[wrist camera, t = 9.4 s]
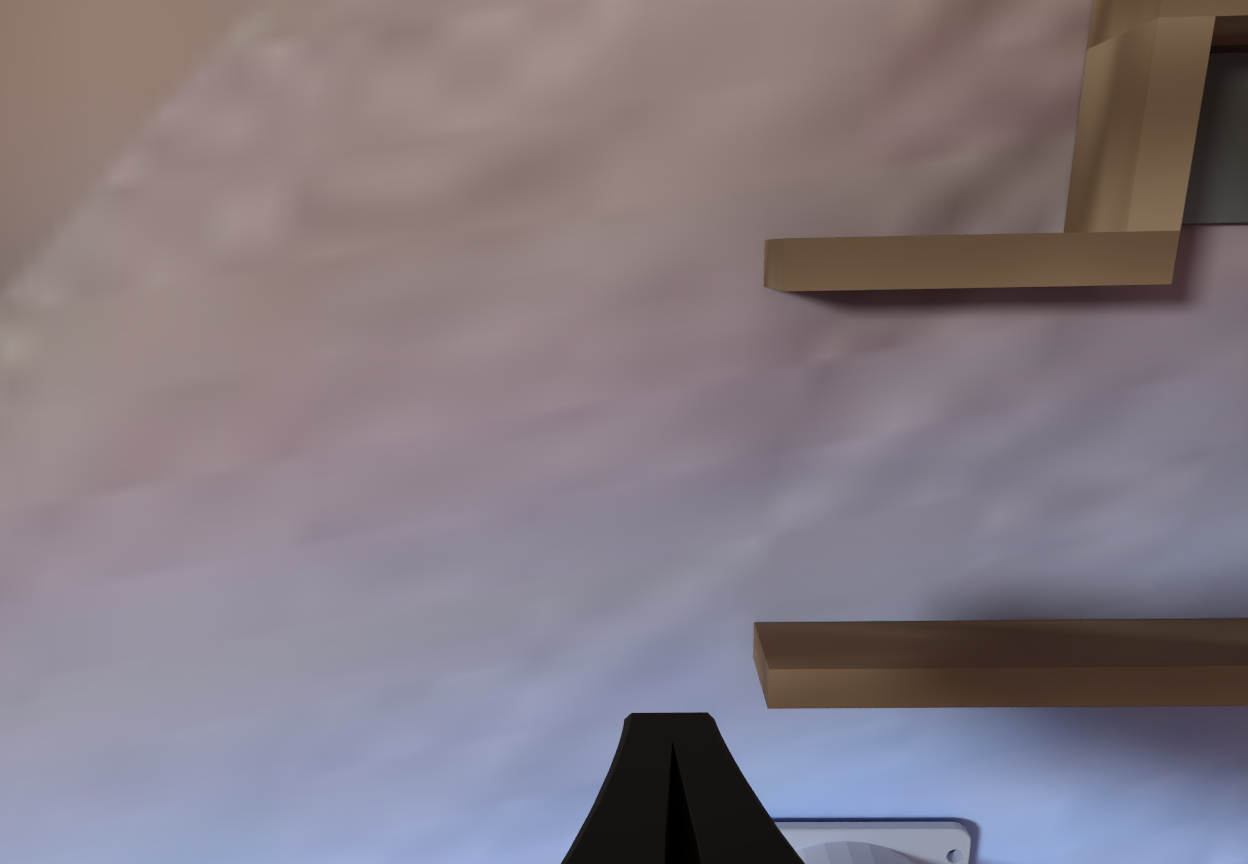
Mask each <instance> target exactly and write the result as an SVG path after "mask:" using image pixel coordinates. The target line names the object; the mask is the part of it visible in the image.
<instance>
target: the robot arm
mask: <svg viewBox="0 0 1248 864" xmlns="http://www.w3.org/2000/svg"><path fill="white" fill-rule="evenodd" d="M955 849H956V850H955ZM970 849H971V837H970V835H969V833H968V831H967V830H966V828H965V827H964V825H962V824H960V823H958V822H774V821H773V820H772V818H771V817H770V816H769V814H768V813H767V811H766V810H765V808H764V807H763V805H762V804H761V802H760V801H759V799H758V797H757V796H756V794H755V793H754V791H753V790H752V788H751V787H750V785H749V784H748V782H747V780H746V779H745V777H744V776H743V774H742V772H741V771H740V769H739V767H738V765H737V764H736V762H735V760H734V758H733V757H732V755H731V753H730V751H729V749H728V747H727V746H726V744H725V742H724V740H723V738H722V736H721V734H720V731H719V729H718V727H717V725H716V722H715V720H714V718H713V717H712V716H711V715H710V714H708V713H631V714H630V715H629V716H628V717H627V718H625V719H624V726H623V731H622V735H621V738H620V742H619V745H618V748H617V751H616V754H615V756H614V759H613V761H612V764H611V767H610V769H609V772H608V774H607V776H606V778H605V780H604V783H603V785H602V787H601V789H600V791H599V794H598V796H597V798H596V800H595V803H594V805H593V807H592V809H591V811H590V813H589V814H588V816H587V818H586V820H585V822H584V824H583V825H582V827H581V829H580V831H579V833H578V835H577V836H576V838H575V840H574V842H573V844H572V846H571V848H570V849H569V851H568V853H567V854H566V856H565V858H564V859H563V861H562V863H561V864H969V857H970ZM951 850H955V851H954V852H951V853H948V852H949V851H951Z"/></svg>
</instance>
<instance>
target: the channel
mask: <svg viewBox="0 0 1248 864" xmlns="http://www.w3.org/2000/svg"><path fill="white" fill-rule="evenodd" d="M1247 45H1248V0H1093V6H1092V14H1091V22H1090V29H1089V37H1088V45H1087V53H1086V61H1085V69H1084V77H1083V85H1082V93H1081V101H1080V109H1079V116H1078V124H1077V132H1076V140H1075V148H1074V156H1073V164H1072V172H1071V180H1070V188H1069V196H1068V203H1067V211H1066V219H1065V227H1064V233H1034V234H985V235H935V236H886V237H836V238H786V239H773V240H765V261H764V287H768V288H771V289H775V290H779V291H833V290H887V289H941V288H995V287H1049V286H1103V285H1157V284H1172V278H1173V272H1174V266H1175V260H1176V254H1177V248H1178V242H1179V235H1180V229H1181V224H1199V223H1248V52H1242V53H1210V47H1211V46H1247ZM753 659H754V662H755V666H756V669H757V673H758V676H759V680H760V683H761V687H762V690H763V694H764V697H765V701H766V704H767V707H768V709H772V708H942V707H1112V706H1248V619H1136V620H1018V621H900V622H783V623H754V653H753Z"/></svg>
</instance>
